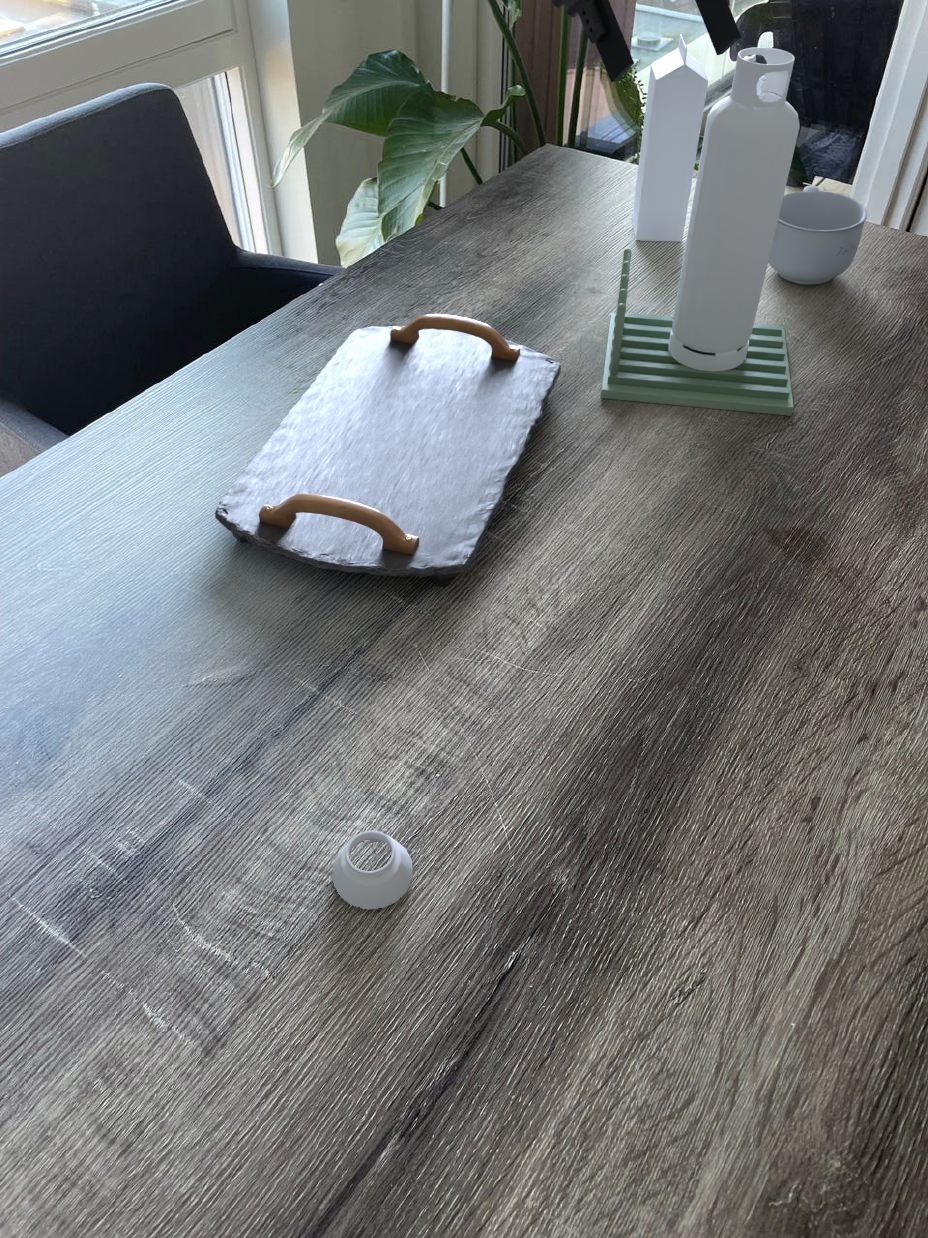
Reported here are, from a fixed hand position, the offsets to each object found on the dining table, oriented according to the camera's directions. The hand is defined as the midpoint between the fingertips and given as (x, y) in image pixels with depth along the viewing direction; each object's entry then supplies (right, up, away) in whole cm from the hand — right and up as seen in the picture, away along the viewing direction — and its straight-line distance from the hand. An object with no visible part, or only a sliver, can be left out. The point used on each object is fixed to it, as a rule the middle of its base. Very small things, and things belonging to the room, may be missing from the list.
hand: (677, 59), depth 92 cm
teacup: (+22, -9, +30) cm, 38 cm away
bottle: (+6, -24, +12) cm, 27 cm away
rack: (+5, -25, +14) cm, 29 cm away
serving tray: (-25, -36, +2) cm, 44 cm away
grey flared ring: (-26, -68, -29) cm, 78 cm away
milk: (+5, -2, +36) cm, 37 cm away
